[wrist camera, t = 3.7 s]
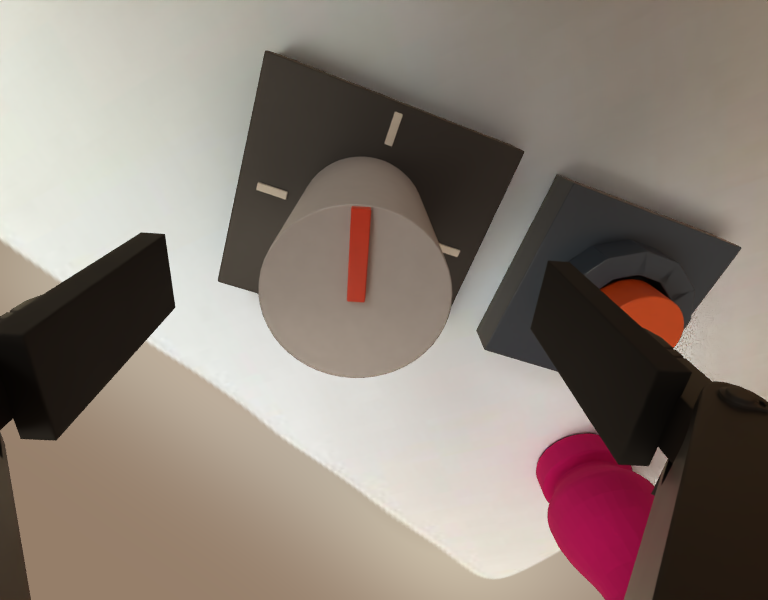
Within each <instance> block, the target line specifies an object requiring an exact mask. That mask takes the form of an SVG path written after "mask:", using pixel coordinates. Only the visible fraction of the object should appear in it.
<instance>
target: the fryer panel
mask: <svg viewBox="0 0 768 600" xmlns="http://www.w3.org/2000/svg"><path fill="white" fill-rule="evenodd" d="M523 154H524V151H523V150H521V149H519V148H516V147H514V146H512V145H510V144H508V143H505V142H503V141H500V140H498V139H495V138H492V137H490V136H487V135H485V134H482V133H480V132H477V131H475V130H472V129H469V128H467V127H464V126H462V125H459V124H457V123H454V122H452V121H449V120H447V119H444V118H441V117H439V116H436V115H434V114H431V113H429V112H426V111H424V110H421V109H418V108H416V107H413V106H411V105H408V104H406V103H403V102H401V101H398V100H395V99H393V98H390V97H388V96H385V95H383V94H380V93H378V92H375V91H372V90H370V89H367V88H365V87H362V86H360V85H357V84H355V83H352V82H350V81H347V80H344V79H342V78H339V77H337V76H334V75H332V74H329V73H327V72H324V71H321V70H319V69H316V68H314V67H311V66H309V65H306V64H304V63H301V62H298V61H296V60H293V59H291V58H288V57H286V56H283V55H281V54H278V53H274V52H271V51H265V53H264V58H263V63H262V68H261V73H260V78H259V83H258V87H257V92H256V97H255V102H254V107H253V112H252V117H251V121H250V126H249V131H248V136H247V141H246V146H245V151H244V155H243V160H242V165H241V170H240V175H239V180H238V185H237V189H236V194H235V199H234V204H233V209H232V214H231V219H230V223H229V228H228V233H227V238H226V243H225V248H224V253H223V257H222V262H221V267H220V272H219V277H218V282H221V283H225V284H228V285H232V286H235V287H238V288H242V289H245V290H248V291H252V292H255V293H259V277H260V271H261V268H262V265H263V262H264V259H265V257H266V255H267V253H268V251H269V249H270V247H271V245H272V244H273V242H274V240H275V239H276V237H277V236H278V234H279V232H280V231H281V229H282V227H283V226H284V224H285V222H286V221H287V219H288V217H289V216H290V214H291V213H292V211H293V209H294V208H295V206H296V204H297V203H298V201H299V199H300V198H301V196H302V195H303V193H304V191H305V190H306V188H307V186H308V185H309V183H310V182H311V181H312V179H313V178H314V177H315V176H316V175H317V174H318V173H319V172H320V171H321V170H323V169H324V168H325V167H327V166H328V165H330V164H332V163H334V162H336V161H339V160H342V159H345V158H350V157H371V158H376V159H380V160H383V161H385V162H388V163H390V164H392V165H393V166H395V167H397V168H398V169H399V170H401V171H402V172H403V173H404V174H405V175H406V176H407V177H408V178H409V179H410V180H411V181H412V183H413V184H414V186H415V187H416V189H417V191H418V193H419V195H420V198H421V200H422V203H423V205H424V208H425V210H426V212H427V215H428V217H429V220H430V222H431V225H432V227H433V230H434V232H435V235H436V237H437V240H438V242H439V245H440V247H441V250H442V252H443V255H444V257H445V260H446V262H447V265H448V268H449V271H450V276H451V281H452V303H451V306H452V304H453V302H454V300H455V297H456V295H457V293H458V291H459V289H460V287H461V285H462V283H463V281H464V278H465V276H466V274H467V272H468V270H469V268H470V266H471V264H472V262H473V260H474V257H475V255H476V253H477V251H478V249H479V247H480V245H481V243H482V241H483V238H484V236H485V234H486V232H487V230H488V228H489V226H490V224H491V222H492V220H493V217H494V215H495V213H496V211H497V209H498V207H499V205H500V203H501V201H502V198H503V196H504V194H505V192H506V190H507V188H508V186H509V184H510V182H511V180H512V177H513V175H514V173H515V171H516V169H517V167H518V165H519V163H520V161H521V158H522V156H523ZM433 344H434V343H433Z"/></svg>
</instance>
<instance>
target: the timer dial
mask: <svg viewBox="0 0 768 600" xmlns="http://www.w3.org/2000/svg"><path fill="white" fill-rule="evenodd" d="M259 301H260V306H261V310H262V314H263V317H264V319H265V321H266V324H267V326H268V328H269V329H270V331H271V333H272V334H273V336H274V337H275V338H276V340H277V341H278V342H279V344H280V345H281V346H282V347H283V348H284V349H285V350H286V351H287V352H288V353H290V354H291V355H292V356H293V357H295V358H296V359H297V360H299V361H301V362H302V363H304V364H306V365H307V366H309V367H311V368H314V369H316V370H318V371H321V372H324V373H327V374H331V375H335V376H340V377H350V378H365V377H374V376H379V375H383V374H387V373H390V372H393V371H396V370H398V369H400V368H402V367H404V366H407V365H408V364H410V363H411V362H413V361H415V360H416V359H417V358H419V357H420V356H421V355H422V354H424V353H425V352H426V351H427V350H428V349H429V348H430V347H431V346H432V345H433V343H434V342H435V341H436V339H437V338H438V337H439V335H440V333H441V332H442V330H443V328H444V326H445V324H446V321H447V319H448V316H449V313H450V308H451V303H452V281H451V276H450V271H449V268H448V265H447V262H446V260H445V257H444V255H443V252H442V250H441V247H440V245H439V242H438V240H437V237H436V235H435V232H434V230H433V227H432V225H431V222H430V220H429V217H428V215H427V212H426V210H425V208H424V205H423V203H422V200H421V198H420V195H419V193H418V191H417V189H416V187H415V186H414V184H413V183H412V181H411V180H410V179H409V178H408V177H407V176H406V175H405V174H404V173H403V172H402V171H401V170H399V169H398V168H397V167H395V166H393V165H392V164H390V163H388V162H385V161H383V160H380V159H376V158H371V157H350V158H345V159H342V160H339V161H336V162H334V163H332V164H330V165H328V166H327V167H325V168H324V169H323V170H321V171H320V172H319V173H318V174H317V175H316V176H315V177H314V178H313V179H312V181H311V182H310V183H309V185H308V186H307V188H306V190H305V191H304V193H303V195H302V196H301V198H300V199H299V201H298V203H297V204H296V206H295V208H294V209H293V211H292V213H291V214H290V216H289V217H288V219H287V221H286V222H285V224H284V226H283V227H282V229H281V231H280V232H279V234H278V236H277V237H276V239H275V240H274V242H273V244H272V245H271V247H270V249H269V251H268V253H267V255H266V257H265V259H264V262H263V265H262V268H261V271H260V277H259Z"/></svg>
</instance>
